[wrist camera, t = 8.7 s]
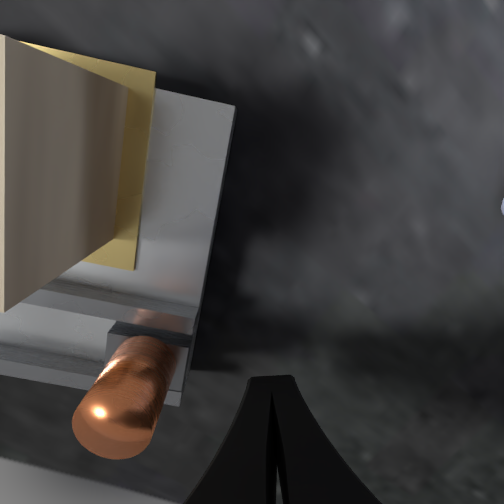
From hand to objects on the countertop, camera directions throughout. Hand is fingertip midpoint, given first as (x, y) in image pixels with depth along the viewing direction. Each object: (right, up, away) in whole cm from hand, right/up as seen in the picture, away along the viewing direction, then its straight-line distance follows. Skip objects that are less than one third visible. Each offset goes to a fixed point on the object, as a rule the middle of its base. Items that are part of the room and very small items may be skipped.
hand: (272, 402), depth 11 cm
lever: (-4, +1, +1) cm, 4 cm away
